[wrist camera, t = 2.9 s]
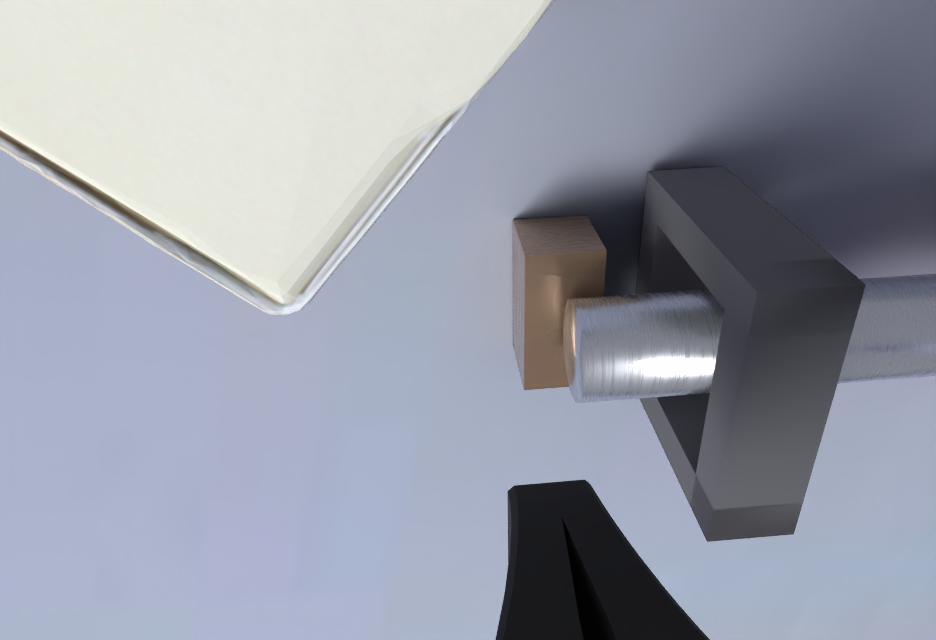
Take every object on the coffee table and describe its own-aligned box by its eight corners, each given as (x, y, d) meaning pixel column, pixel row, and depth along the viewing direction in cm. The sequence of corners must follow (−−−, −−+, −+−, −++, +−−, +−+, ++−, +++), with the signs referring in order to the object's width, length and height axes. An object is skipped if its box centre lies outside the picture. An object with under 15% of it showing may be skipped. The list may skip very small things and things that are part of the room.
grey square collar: (723, 166, 18) (866, 284, 13) (691, 368, 22) (793, 533, 16) (647, 171, 18) (757, 292, 12) (627, 372, 21) (707, 541, 16)
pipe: (1150, 179, 20) (1354, 254, 15) (1090, 303, 22) (1255, 399, 17) (512, 219, 19) (543, 310, 15) (513, 344, 21) (540, 456, 17)
